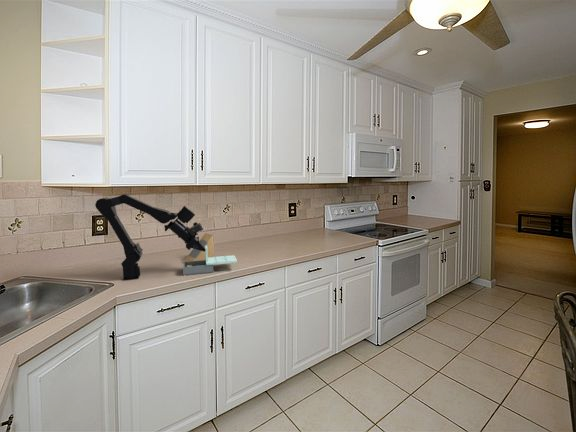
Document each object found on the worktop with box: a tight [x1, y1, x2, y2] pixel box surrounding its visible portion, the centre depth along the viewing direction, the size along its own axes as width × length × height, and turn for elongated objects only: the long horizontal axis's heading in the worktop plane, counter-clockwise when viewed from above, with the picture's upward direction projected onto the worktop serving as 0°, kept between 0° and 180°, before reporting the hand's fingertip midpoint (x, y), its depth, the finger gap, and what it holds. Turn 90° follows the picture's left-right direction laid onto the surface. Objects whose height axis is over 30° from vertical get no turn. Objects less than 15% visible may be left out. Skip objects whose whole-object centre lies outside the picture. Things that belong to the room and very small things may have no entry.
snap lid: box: [205, 246, 238, 266], centre depth 149 cm, size 15×11×8 cm
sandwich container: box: [182, 232, 215, 263], centre depth 163 cm, size 9×15×15 cm, turn 136°
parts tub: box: [182, 260, 214, 276], centre depth 147 cm, size 14×10×4 cm
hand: (204, 250), depth 147 cm, fingers closed, pressing on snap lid
